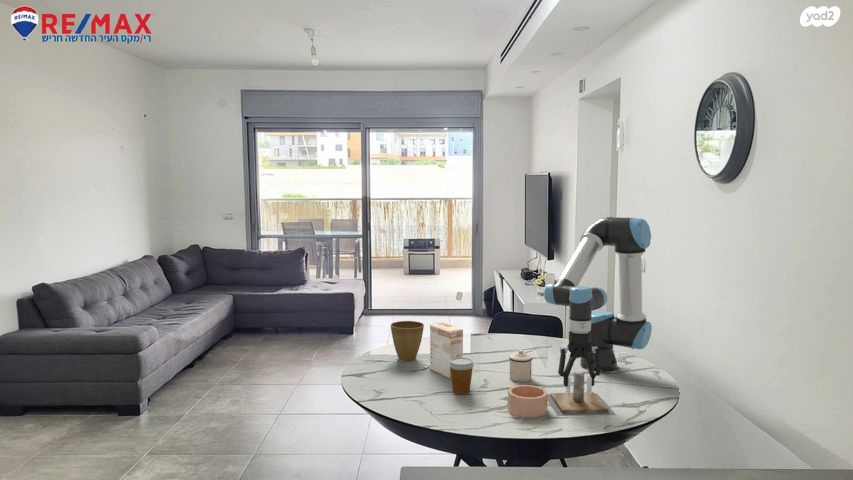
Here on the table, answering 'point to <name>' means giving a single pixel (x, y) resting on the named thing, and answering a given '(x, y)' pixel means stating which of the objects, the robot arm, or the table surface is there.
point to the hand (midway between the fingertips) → (578, 394)
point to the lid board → (579, 407)
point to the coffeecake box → (444, 347)
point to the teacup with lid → (520, 366)
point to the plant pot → (407, 339)
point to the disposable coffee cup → (461, 375)
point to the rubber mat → (578, 413)
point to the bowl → (527, 401)
